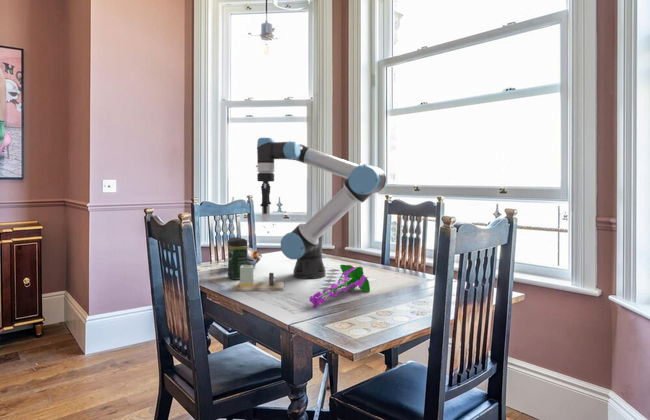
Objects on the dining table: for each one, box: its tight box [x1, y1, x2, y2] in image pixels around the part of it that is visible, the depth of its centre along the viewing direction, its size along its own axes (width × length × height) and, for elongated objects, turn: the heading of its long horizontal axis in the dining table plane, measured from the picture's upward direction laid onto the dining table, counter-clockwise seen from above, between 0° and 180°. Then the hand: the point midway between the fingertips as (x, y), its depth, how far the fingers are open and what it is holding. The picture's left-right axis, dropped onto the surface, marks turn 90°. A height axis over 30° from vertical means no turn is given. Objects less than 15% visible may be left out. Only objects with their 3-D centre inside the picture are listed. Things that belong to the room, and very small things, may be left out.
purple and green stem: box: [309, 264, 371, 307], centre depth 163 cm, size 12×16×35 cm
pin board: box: [232, 272, 284, 292], centre depth 176 cm, size 20×10×6 cm, turn 95°
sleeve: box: [239, 265, 255, 287], centre depth 175 cm, size 5×5×8 cm
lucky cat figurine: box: [247, 247, 263, 268], centre depth 213 cm, size 15×12×14 cm
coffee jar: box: [227, 236, 249, 280], centre depth 194 cm, size 10×8×19 cm
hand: (266, 219), depth 191 cm, fingers open, 13 cm apart
